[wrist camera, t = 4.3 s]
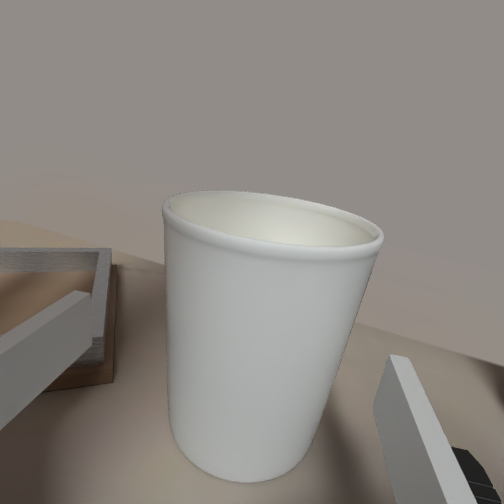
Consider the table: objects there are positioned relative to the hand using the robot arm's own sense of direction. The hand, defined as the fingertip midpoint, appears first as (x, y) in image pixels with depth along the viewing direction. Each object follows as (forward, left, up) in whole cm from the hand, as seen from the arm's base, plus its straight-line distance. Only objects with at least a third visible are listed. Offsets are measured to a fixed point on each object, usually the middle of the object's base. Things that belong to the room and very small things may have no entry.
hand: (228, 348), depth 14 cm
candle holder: (-2, -2, -7) cm, 7 cm away
